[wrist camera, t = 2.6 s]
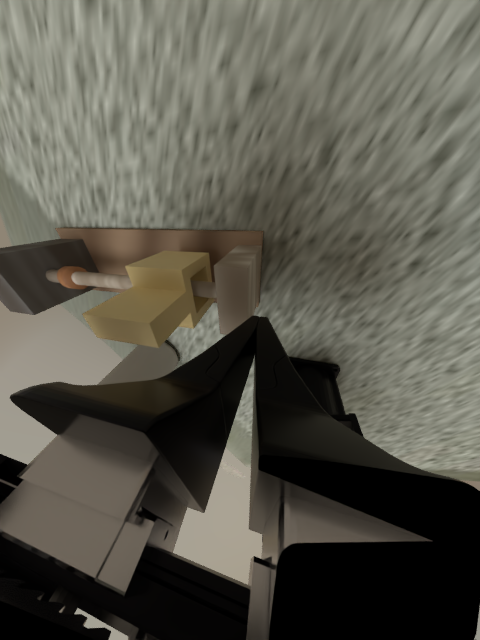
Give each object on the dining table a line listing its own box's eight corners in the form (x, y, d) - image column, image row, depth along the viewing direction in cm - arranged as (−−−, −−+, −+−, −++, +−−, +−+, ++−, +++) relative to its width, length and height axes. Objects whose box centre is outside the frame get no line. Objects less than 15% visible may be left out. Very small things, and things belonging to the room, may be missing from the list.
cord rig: (263, 230, 14) (244, 253, 8) (259, 303, 18) (243, 357, 12) (63, 227, 19) (-55, 240, 12) (95, 286, 22) (18, 320, 16)
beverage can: (137, 334, 26) (50, 410, 17) (173, 337, 25) (101, 423, 15) (152, 362, 30) (88, 438, 20) (185, 367, 28) (132, 451, 19)
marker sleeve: (208, 252, 14) (138, 296, 7) (214, 301, 16) (165, 365, 10) (164, 250, 14) (66, 288, 8) (176, 297, 17) (108, 354, 10)
